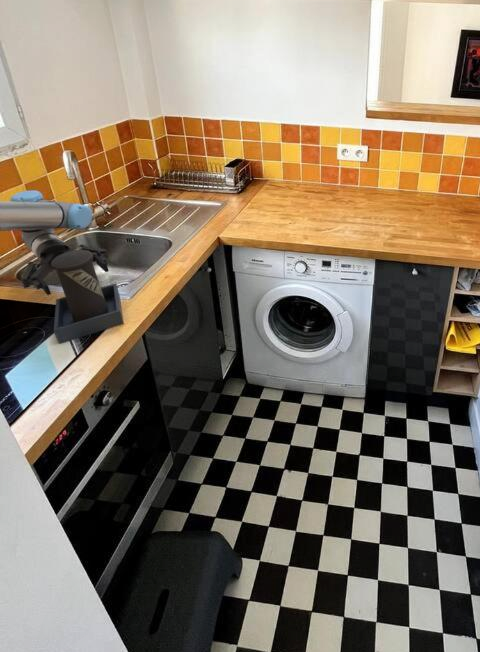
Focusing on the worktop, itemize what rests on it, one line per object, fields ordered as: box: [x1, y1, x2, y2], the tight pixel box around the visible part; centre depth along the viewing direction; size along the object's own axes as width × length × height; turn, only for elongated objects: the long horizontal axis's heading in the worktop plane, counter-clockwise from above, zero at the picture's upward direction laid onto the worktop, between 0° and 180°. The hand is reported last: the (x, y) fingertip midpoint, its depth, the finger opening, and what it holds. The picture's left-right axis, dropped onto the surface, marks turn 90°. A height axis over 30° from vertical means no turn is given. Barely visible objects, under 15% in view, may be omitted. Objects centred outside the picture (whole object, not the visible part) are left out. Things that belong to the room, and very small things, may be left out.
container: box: [51, 249, 108, 323], centre depth 104 cm, size 9×9×20 cm
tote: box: [53, 283, 125, 345], centre depth 108 cm, size 15×15×4 cm
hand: (78, 278), depth 103 cm, fingers open, 13 cm apart
